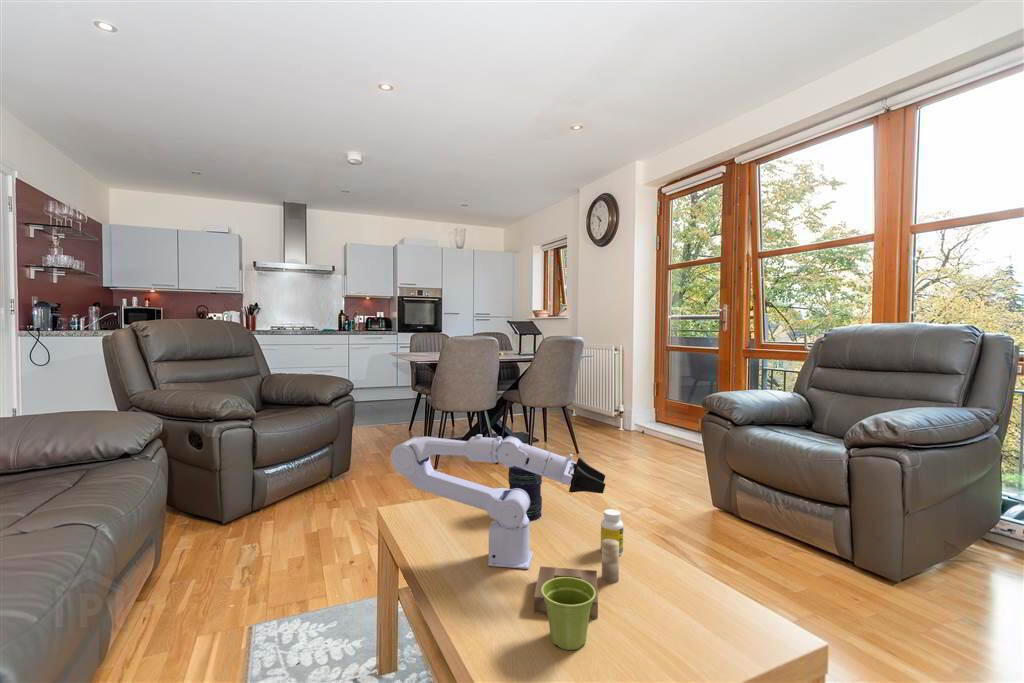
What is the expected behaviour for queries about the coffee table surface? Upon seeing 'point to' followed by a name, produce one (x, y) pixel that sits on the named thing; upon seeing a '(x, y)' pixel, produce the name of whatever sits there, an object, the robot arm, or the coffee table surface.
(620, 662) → the coffee table surface
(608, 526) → the supplement bottle
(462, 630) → the coffee table surface
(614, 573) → the pin
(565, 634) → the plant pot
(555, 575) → the socket block
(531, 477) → the storage jar
